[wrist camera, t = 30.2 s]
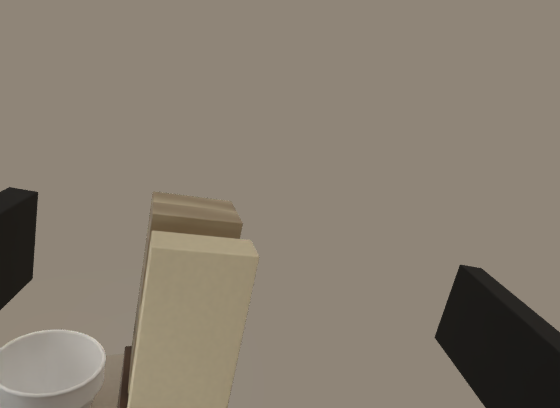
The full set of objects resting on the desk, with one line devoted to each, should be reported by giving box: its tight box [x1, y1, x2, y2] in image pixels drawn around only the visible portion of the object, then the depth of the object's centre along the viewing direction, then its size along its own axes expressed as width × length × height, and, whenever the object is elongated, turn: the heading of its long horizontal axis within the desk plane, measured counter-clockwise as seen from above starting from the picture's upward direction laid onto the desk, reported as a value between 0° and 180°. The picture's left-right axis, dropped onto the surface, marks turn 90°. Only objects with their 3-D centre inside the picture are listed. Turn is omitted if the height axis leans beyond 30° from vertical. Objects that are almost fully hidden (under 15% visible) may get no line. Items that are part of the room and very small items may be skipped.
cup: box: [0, 330, 106, 408], centre depth 53 cm, size 12×12×14 cm
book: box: [127, 231, 259, 408], centre depth 27 cm, size 2×6×14 cm, turn 105°
